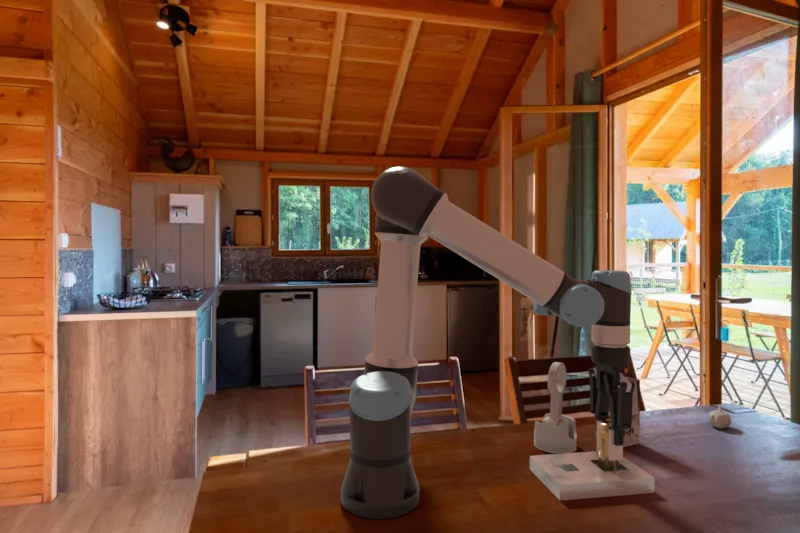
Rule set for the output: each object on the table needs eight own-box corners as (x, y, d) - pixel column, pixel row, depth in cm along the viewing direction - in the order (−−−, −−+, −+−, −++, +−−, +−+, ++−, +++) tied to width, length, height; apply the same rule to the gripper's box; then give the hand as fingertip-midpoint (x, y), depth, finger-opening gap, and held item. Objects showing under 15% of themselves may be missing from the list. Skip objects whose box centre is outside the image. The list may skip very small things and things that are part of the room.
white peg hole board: (559, 500, 97) (560, 485, 96) (529, 469, 110) (529, 455, 110) (654, 492, 100) (654, 477, 100) (613, 463, 113) (613, 450, 113)
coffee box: (640, 443, 125) (642, 379, 124) (622, 448, 122) (623, 382, 122) (611, 431, 133) (612, 371, 133) (593, 435, 131) (594, 374, 130)
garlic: (712, 422, 141) (712, 403, 141) (734, 427, 137) (734, 408, 137) (704, 427, 137) (704, 408, 137) (726, 432, 133) (727, 413, 133)
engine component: (527, 447, 123) (568, 457, 117) (528, 364, 122) (569, 370, 116) (544, 434, 131) (583, 443, 125) (545, 356, 131) (584, 361, 125)
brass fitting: (605, 475, 103) (605, 427, 103) (594, 467, 107) (595, 420, 107) (622, 474, 104) (623, 426, 104) (611, 465, 108) (612, 419, 108)
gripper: (653, 351, 97) (651, 471, 98) (604, 336, 114) (603, 439, 114) (617, 352, 96) (616, 473, 97) (573, 337, 113) (572, 441, 113)
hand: (609, 454), depth 106 cm, fingers closed on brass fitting, 4 cm apart
